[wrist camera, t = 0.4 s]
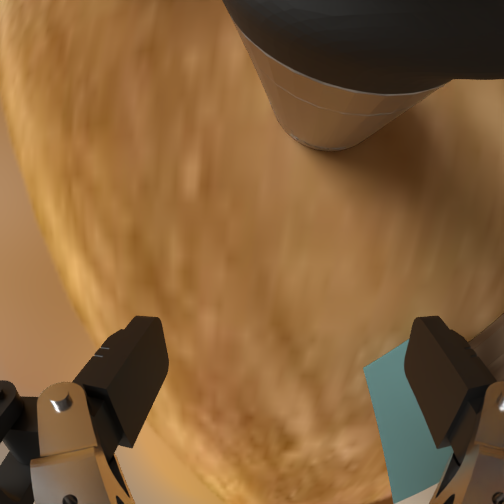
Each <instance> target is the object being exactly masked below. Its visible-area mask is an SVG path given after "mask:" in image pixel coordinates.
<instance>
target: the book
mask: <svg viewBox="0 0 504 504" xmlns="http://www.w3.org/2000/svg"><path fill="white" fill-rule="evenodd" d="M408 342H409V339H408V340H407V341H405V342H404V343H402V344H401V345H399V346H398V347H396V348H395V349H393V350H391V351H390V352H388V353H387V354H385V355H384V356H382V357H380V358H379V359H377V360H376V361H374V362H372V363H371V364H369V365H367V366H366V367H364V368H363V369H364V373H365V377H366V381H367V384H368V388H369V392H370V396H371V400H372V404H373V408H374V412H375V416H376V420H377V425H378V429H379V433H380V438H381V442H382V447H383V451H384V456H385V461H386V466H387V471H388V476H389V481H390V486H391V492H392V497H393V503H394V504H429V502H430V500H431V498H432V496H433V494H434V492H435V490H436V487H437V485H438V483H439V481H440V478H441V476H442V474H443V471H444V469H445V466H446V464H447V461H448V459H449V457H450V455H451V453H452V452H453V449H452V447H451V446H448V447H445V448H441V449H437V448H436V446H435V443H434V441H433V438H432V436H431V433H430V431H429V428H428V426H427V423H426V421H425V419H424V416H423V414H422V412H421V409H420V407H419V405H418V402H417V400H416V398H415V396H414V393H413V391H412V389H411V387H410V384H409V382H408V380H407V378H406V375H405V371H404V358H405V354H406V350H407V346H408Z"/></svg>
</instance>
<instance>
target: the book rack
mask: <svg viewBox="0 0 504 504" xmlns="http://www.w3.org/2000/svg"><path fill="white" fill-rule="evenodd" d="M468 344H469V345H470V346H471V349H473V350H474V351H475V352H476V354H477V357H478V356H479V358H480V359H481V360H482V361H483V363H484V364H485V365H486V367H487V368H488V369H489V371H490V372H491V373H492V375H493V376H494V378H495V379H496V380H497V382H501V381H504V314H502V315H501V316H500V317H499V318H498V319H497V320H496V321H494V322H493V323H492V324H491V325H490V326H489V327H487V328H486V329H485V330H484V331H482V332H481V333H480V334H479V335H478V336H476V337H475V338H474V339H473V340H471V341H470V342H469V343H468Z"/></svg>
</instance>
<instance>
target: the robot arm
mask: <svg viewBox="0 0 504 504" xmlns="http://www.w3.org/2000/svg"><path fill="white" fill-rule="evenodd" d="M223 2H224V4H225V6H226V8H227V10H228V12H229V14H230V16H231V18H232V20H233V22H234V24H235V26H236V28H237V30H238V33H239V35H240V37H241V39H242V41H243V43H244V45H245V47H246V50H247V51H248V53H249V55H250V58H251V60H252V62H253V64H254V66H255V69H256V71H257V73H258V75H259V78H260V80H261V82H262V85H263V87H264V89H265V92H266V94H267V96H268V99H269V101H270V104H271V106H272V109H273V111H274V113H275V115H276V117H277V120H278V122H279V123H280V125H281V126H282V127H283V129H284V130H285V131H286V132H287V133H288V134H289V135H290V136H291V137H292V138H293V139H294V140H296V141H298V142H300V143H301V144H303V145H305V146H307V147H310V148H313V149H316V150H323V151H340V150H344V149H347V148H351V147H353V146H355V145H357V144H359V143H360V142H362V141H363V140H365V139H366V138H368V137H369V136H371V135H372V134H374V133H375V132H376V131H378V130H379V129H381V128H382V127H384V126H385V125H387V124H388V123H389V122H391V121H392V120H394V119H395V118H397V117H398V116H400V115H401V114H402V113H404V112H405V111H407V110H408V109H410V108H411V107H413V106H414V105H416V104H417V103H419V102H420V101H422V100H423V99H424V98H426V97H427V96H428V95H430V94H431V93H433V92H434V91H436V90H437V89H439V88H440V87H442V86H443V85H445V84H446V83H448V82H449V81H451V80H452V79H476V80H493V79H504V0H223ZM168 366H169V359H168V353H167V348H166V343H165V338H164V333H163V328H162V323H161V320H160V319H159V318H158V317H148V316H135V317H134V318H133V319H132V320H131V322H130V323H129V324H128V325H127V327H126V328H125V329H124V330H123V329H121V330H119V331H117V332H116V333H114V334H113V335H111V336H109V337H108V338H107V340H106V341H105V342H104V343H103V344H102V346H101V348H99V349H98V350H97V352H96V353H95V356H93V357H92V358H91V359H90V360H89V362H88V363H87V364H86V365H85V366H84V368H83V369H82V370H81V372H80V373H79V374H78V375H77V377H76V378H75V379H74V380H73V382H61V383H56V384H53V385H51V386H49V387H48V388H46V389H45V390H44V391H43V392H42V393H41V394H40V396H39V397H21V396H19V394H18V392H17V390H16V388H15V386H14V385H13V384H12V383H11V382H8V381H3V380H2V381H0V443H1V442H2V441H3V442H4V444H5V445H6V446H7V448H8V449H9V450H10V451H9V453H8V454H7V456H6V458H5V459H4V461H3V462H2V464H1V465H0V504H33V503H34V501H35V504H135V501H134V499H133V497H132V495H131V492H130V490H129V488H128V485H127V483H126V480H125V478H124V475H123V473H122V470H121V467H120V465H119V462H118V459H117V457H116V455H115V453H114V452H115V450H116V448H117V446H118V445H120V446H125V447H129V448H133V446H134V443H135V441H136V439H137V437H138V434H139V432H140V430H141V428H142V426H143V424H144V422H145V420H146V418H147V416H148V413H149V411H150V409H151V407H152V405H153V403H154V401H155V399H156V396H157V394H158V392H159V390H160V388H161V386H162V384H163V382H164V380H165V378H166V375H167V372H168ZM404 371H405V375H406V378H407V380H408V382H409V384H410V387H411V389H412V391H413V393H414V396H415V398H416V400H417V402H418V405H419V407H420V409H421V412H422V414H423V416H424V419H425V421H426V423H427V426H428V428H429V431H430V433H431V436H432V438H433V441H434V443H435V446H436V448H437V449H441V448H445V447H448V446H451V447H452V449H453V452H452V453H451V455H450V457H449V459H448V461H447V464H446V466H445V469H444V471H443V474H442V476H441V478H440V481H439V483H438V485H437V487H436V490H435V492H434V494H433V496H432V498H431V500H430V502H429V504H504V381H501V382H497V380H496V379H495V378H494V376H493V375H492V373H491V372H490V371H489V369H488V368H487V367H486V365H485V364H484V363H483V361H482V360H481V359H480V358H479V356H478V357H477V354H476V352H475V351H474V350H473V349H471V346H470V345H469V344H468V342H467V341H466V340H465V339H464V337H462V336H461V335H459V334H458V333H456V332H455V331H453V330H452V329H451V330H450V329H449V328H448V327H447V326H446V324H445V323H444V322H443V321H442V319H441V318H440V317H439V316H428V317H417V318H416V319H415V320H414V322H413V325H412V330H411V334H410V338H409V342H408V346H407V350H406V354H405V358H404Z"/></svg>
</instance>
